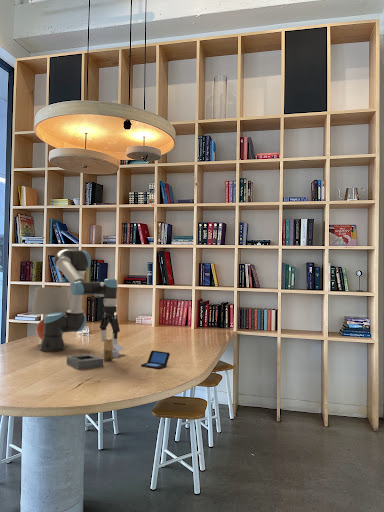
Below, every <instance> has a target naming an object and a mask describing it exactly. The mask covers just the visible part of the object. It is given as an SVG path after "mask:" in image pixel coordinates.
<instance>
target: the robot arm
mask: <svg viewBox="0 0 384 512" xmlns="http://www.w3.org/2000/svg"><path fill="white" fill-rule="evenodd" d="M91 263H92V258H91V255H90V253H89V252H88V251H86V250H81V249H80V250H79V249H62V250H59V251H58V252H57V253H56V254H55V256H54V260H53V264H54V266H55V268H56V269H57V270H59V271H61V273H62V274H63V276H64V277H65V278H66V279H67V280H68V282H69V291H68V301H69V303H68V309H67V310H66V312H65V314H63V313H62V312H57V313H50V314H44V336H43V340H42V343H41V342H40V346H39V351H41V350H42V351H41V352H47V351H54V352H61V351H60V350H62V351H65V350H64V349H66V345H65V342H64V338H63V335H64V333H72V332H74V333H77V332H82V331H83V330H84V329H85V327H86V325H87V316H86V314H85V312H84V310H83V309H82V307H83V296H86V295H87V296H90V295H91V296H95V295H96V296H103V300H102V302H103V305H104V306H103V309H102V311H103V312H102V317H101V321H100V325H99V329H100V330H101V334H100V335H101V337H100V338H101V340H100V341H101V342H102V343H104V339H107V327H108V326H109V324H110V326H111V329H112V335H111V337H112V338H111V339H112V345H116V344H117V343H118V333H120V331H121V329H120V326H119V325H120V323H119V318H118V315H117V314H115V313H117V309H118V307H117V304H118V280H117V278H105V279H103V281H86V280H85V278H84V277H85V273H86V272H87V270H88V269H89V268H90V267H91ZM63 332H64V333H63ZM62 334H63V335H62Z"/></svg>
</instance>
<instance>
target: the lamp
mask: <svg viewBox="0 0 384 512" xmlns="http://www.w3.org/2000/svg"><path fill="white" fill-rule="evenodd" d="M68 303H69V291H68V287H55V286H54V287H53V286H52V287H50V286H49V287H48V286H46V287H45V286H44V287H35V294H34V299H33V305H32V310H31V314H34V315H35V314H36V315H47V314H50V313H57V312H62V313H63V314H65V312H66V310H67V309H68ZM35 333H36V335H37V337H38V338H39V340H40V344H41V343H42V340H43V336H44V319H42V320H40V321H39V322H38V323H37V325H36V328H35ZM64 333H65V332H63V334H62V336H63V335H64Z"/></svg>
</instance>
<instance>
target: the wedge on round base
mask: <svg viewBox="0 0 384 512" xmlns="http://www.w3.org/2000/svg"><path fill="white" fill-rule="evenodd" d="M124 349H125V348H124V347H123V346H121V344H120V343H118V342H117V344H116V345H113V358H118V357H119V354H120V351H122V350H124ZM102 354H103V357H104V353H102Z"/></svg>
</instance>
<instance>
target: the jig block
mask: <svg viewBox="0 0 384 512" xmlns="http://www.w3.org/2000/svg"><path fill="white" fill-rule="evenodd" d="M66 364H67V365H69V366H70V367H72V368H75V369H76V370H85V369H93V368H100V367H101V368H102V367H104V357H103V358H102V357H100V356H98V355H96V354H95V355H94V354H92V353H87V354H85V353H84V354H77V355H76V354H75V355H67V356H66Z"/></svg>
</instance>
